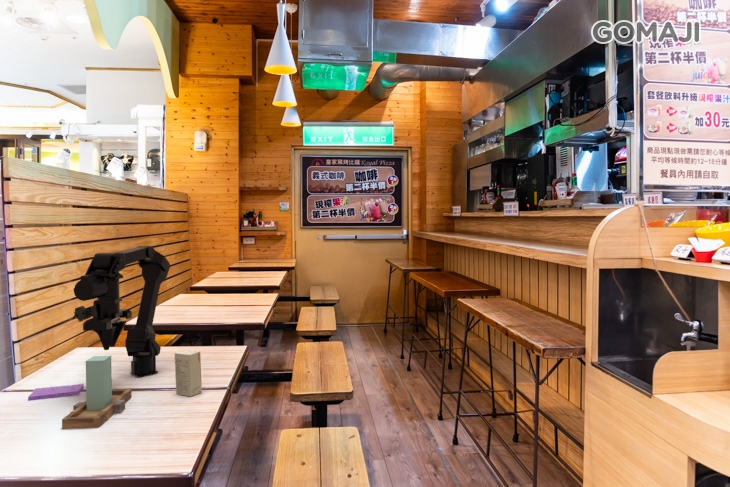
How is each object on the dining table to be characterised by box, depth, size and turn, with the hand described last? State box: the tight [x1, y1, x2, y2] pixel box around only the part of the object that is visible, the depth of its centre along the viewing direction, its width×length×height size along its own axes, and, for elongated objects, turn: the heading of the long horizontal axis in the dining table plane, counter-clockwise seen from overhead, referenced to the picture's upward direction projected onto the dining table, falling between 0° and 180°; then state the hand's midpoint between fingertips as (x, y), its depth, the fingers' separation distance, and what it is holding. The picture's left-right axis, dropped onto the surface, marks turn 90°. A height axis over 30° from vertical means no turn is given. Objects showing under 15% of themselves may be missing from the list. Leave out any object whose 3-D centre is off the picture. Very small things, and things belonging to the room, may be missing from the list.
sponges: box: [27, 383, 85, 401], centre depth 135 cm, size 7×13×2 cm, turn 109°
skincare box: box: [174, 349, 203, 397], centre depth 135 cm, size 6×4×12 cm
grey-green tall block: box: [85, 355, 113, 411], centre depth 122 cm, size 4×4×13 cm
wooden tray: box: [61, 388, 133, 430], centre depth 122 cm, size 20×12×3 cm, turn 6°
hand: (109, 348), depth 136 cm, fingers open, 4 cm apart
